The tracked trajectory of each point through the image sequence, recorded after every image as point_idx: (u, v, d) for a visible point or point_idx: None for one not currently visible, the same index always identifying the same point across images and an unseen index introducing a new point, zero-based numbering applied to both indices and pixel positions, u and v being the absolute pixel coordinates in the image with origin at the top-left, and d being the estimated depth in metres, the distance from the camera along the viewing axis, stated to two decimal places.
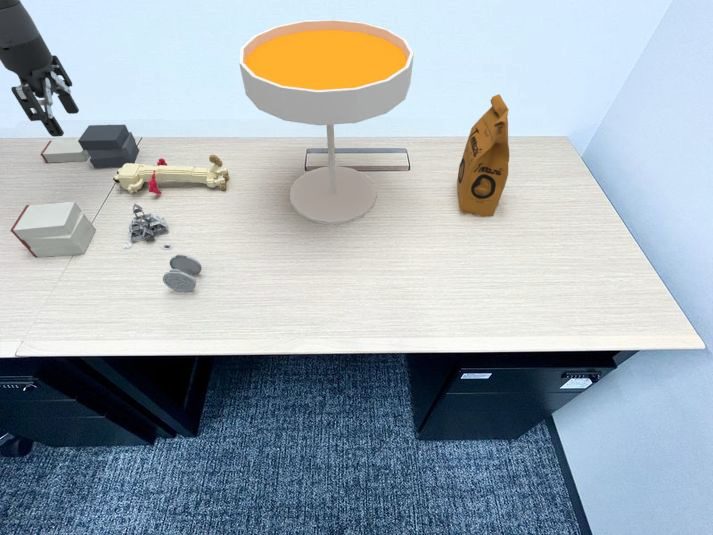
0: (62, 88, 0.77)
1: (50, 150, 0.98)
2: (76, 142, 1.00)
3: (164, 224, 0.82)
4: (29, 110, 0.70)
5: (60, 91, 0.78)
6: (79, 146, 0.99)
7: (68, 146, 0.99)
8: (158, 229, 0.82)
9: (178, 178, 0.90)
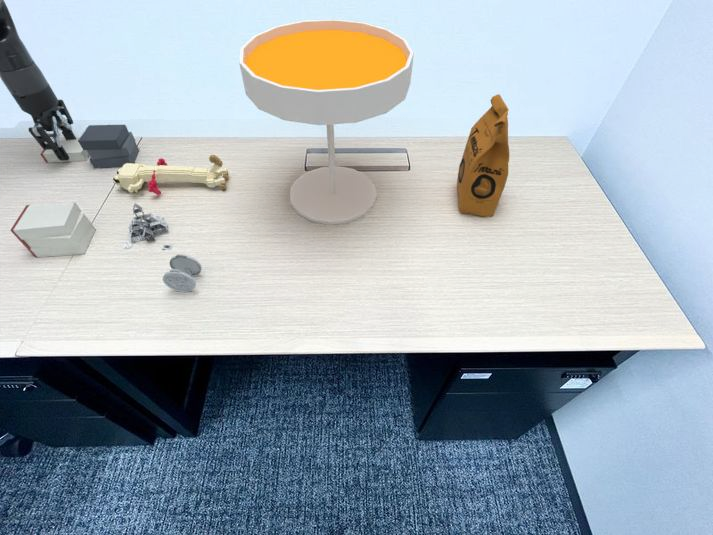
0: (65, 125, 0.97)
1: (50, 150, 0.98)
2: (76, 142, 1.00)
3: (164, 224, 0.82)
4: (42, 142, 0.92)
5: (64, 128, 0.99)
6: (79, 146, 0.99)
7: (68, 146, 0.99)
8: (158, 229, 0.82)
9: (178, 178, 0.90)
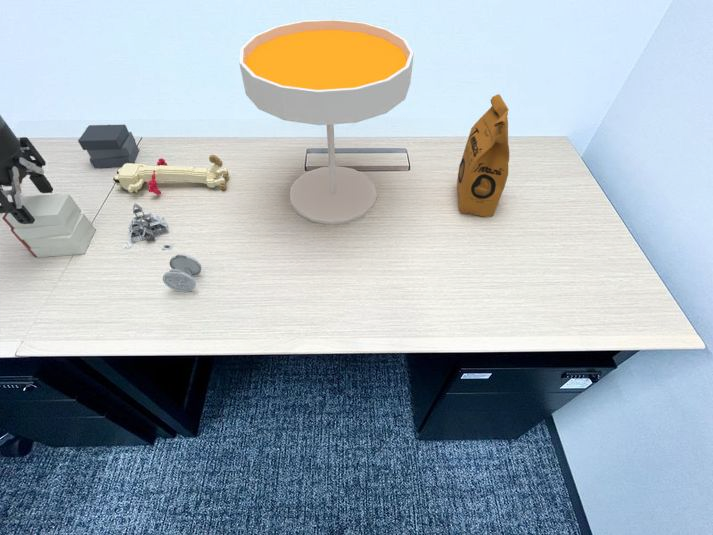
0: (33, 171, 0.71)
1: None
2: (52, 199, 0.75)
3: (164, 224, 0.82)
4: None
5: (32, 173, 0.73)
6: (55, 205, 0.73)
7: (41, 205, 0.73)
8: (158, 229, 0.82)
9: (178, 178, 0.90)
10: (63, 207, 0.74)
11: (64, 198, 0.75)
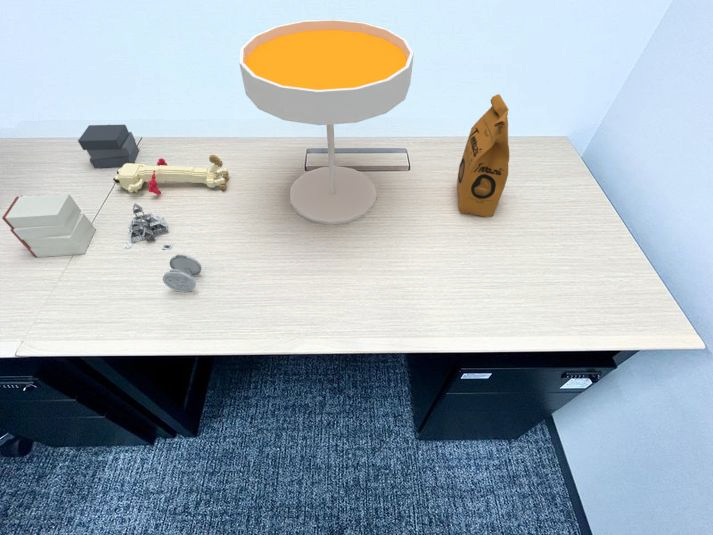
0: None
1: (16, 212, 0.72)
2: (52, 199, 0.75)
3: (164, 224, 0.82)
4: None
5: None
6: (55, 205, 0.73)
7: (41, 205, 0.73)
8: (158, 229, 0.82)
9: (178, 178, 0.90)
10: (63, 207, 0.74)
11: (64, 198, 0.75)
